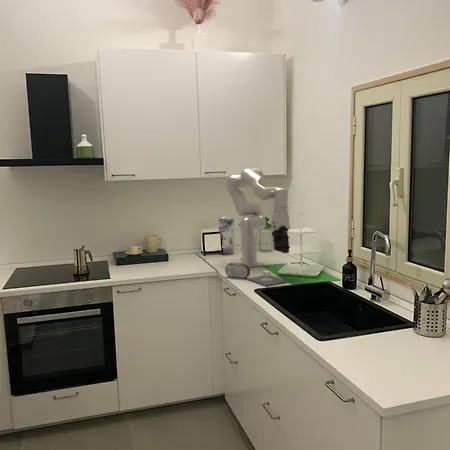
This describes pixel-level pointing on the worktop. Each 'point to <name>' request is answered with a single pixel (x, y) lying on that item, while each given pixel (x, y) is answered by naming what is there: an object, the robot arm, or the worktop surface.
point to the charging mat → (267, 279)
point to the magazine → (282, 241)
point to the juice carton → (227, 235)
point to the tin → (237, 270)
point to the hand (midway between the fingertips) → (280, 240)
